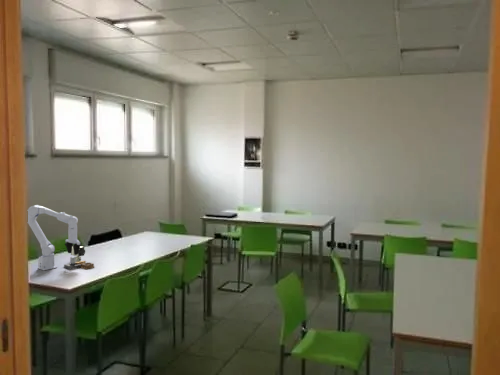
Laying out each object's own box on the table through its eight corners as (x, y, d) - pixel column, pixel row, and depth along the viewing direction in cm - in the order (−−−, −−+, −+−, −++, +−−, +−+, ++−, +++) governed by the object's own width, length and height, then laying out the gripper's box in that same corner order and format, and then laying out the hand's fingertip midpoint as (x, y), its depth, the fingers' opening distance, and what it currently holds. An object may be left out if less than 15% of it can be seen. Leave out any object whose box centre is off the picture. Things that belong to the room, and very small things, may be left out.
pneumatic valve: (79, 263, 306) (80, 246, 305) (69, 261, 312) (69, 244, 311) (86, 261, 311) (86, 245, 310) (76, 259, 317) (76, 243, 316)
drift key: (76, 267, 295) (76, 262, 295) (74, 266, 296) (74, 262, 296) (85, 265, 300) (85, 261, 300) (84, 264, 302) (84, 260, 301)
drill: (72, 268, 291) (72, 258, 291) (69, 267, 293) (69, 257, 293) (76, 267, 294) (76, 257, 293) (73, 266, 296) (73, 256, 295)
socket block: (70, 269, 288) (70, 266, 288) (64, 267, 293) (64, 264, 292) (81, 267, 294) (81, 264, 294) (74, 265, 299) (74, 262, 299)
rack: (86, 269, 290) (86, 265, 290) (80, 267, 294) (80, 263, 294) (94, 267, 295) (94, 263, 295) (88, 265, 299) (89, 262, 299)
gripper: (84, 234, 291) (84, 254, 292) (72, 232, 300) (72, 251, 300) (74, 236, 286) (74, 256, 286) (62, 233, 294) (62, 253, 295)
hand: (72, 253), depth 293 cm, fingers open, 7 cm apart
